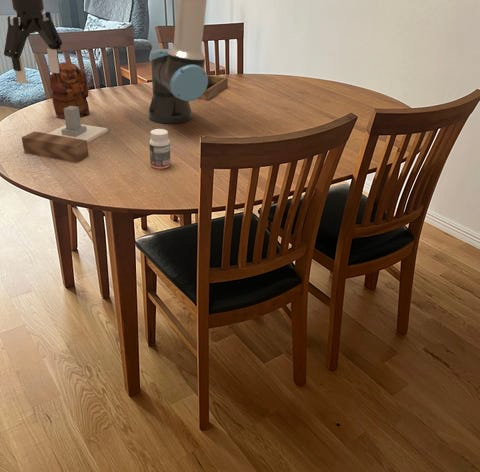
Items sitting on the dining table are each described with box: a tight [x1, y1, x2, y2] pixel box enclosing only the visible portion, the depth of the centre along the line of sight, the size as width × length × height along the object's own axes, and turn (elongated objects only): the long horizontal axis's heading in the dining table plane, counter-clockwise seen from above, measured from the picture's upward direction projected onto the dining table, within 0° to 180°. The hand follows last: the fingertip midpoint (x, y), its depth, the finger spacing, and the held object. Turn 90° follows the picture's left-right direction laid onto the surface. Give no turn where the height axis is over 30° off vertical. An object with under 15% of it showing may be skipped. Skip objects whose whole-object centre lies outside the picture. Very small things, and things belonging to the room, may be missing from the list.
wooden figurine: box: [49, 61, 90, 120], centre depth 173 cm, size 12×6×18 cm, turn 134°
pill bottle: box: [148, 128, 172, 170], centre depth 141 cm, size 6×6×10 cm
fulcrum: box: [47, 106, 109, 144], centre depth 159 cm, size 14×16×9 cm
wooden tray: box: [197, 74, 229, 102], centre depth 210 cm, size 15×22×4 cm
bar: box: [21, 131, 90, 164], centre depth 146 cm, size 18×6×5 cm, turn 71°
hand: (39, 77), depth 142 cm, fingers open, 13 cm apart
